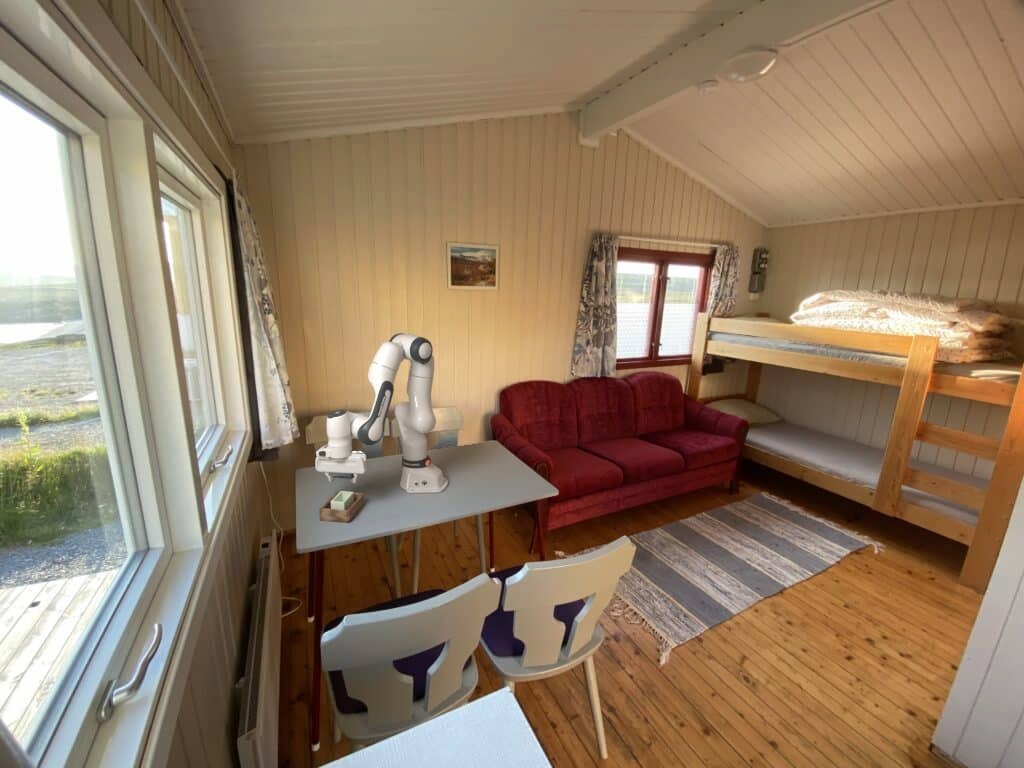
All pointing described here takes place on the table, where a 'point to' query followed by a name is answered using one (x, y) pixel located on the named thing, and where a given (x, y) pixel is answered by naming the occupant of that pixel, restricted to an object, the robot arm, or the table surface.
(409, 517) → the table surface
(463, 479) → the table surface
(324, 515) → the walnut crate
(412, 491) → the robot arm
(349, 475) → the small box
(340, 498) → the sage crate
